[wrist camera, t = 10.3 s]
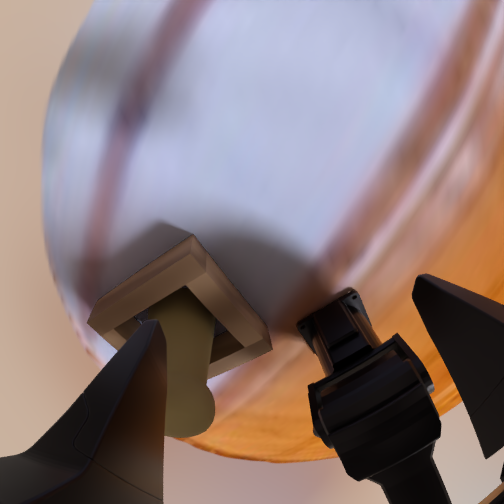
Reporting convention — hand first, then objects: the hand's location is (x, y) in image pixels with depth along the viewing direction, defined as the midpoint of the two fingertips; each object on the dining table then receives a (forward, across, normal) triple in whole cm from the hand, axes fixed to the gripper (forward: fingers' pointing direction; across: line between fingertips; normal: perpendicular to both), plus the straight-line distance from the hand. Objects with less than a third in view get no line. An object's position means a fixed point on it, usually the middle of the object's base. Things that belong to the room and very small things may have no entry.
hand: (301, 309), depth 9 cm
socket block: (+12, +7, +10) cm, 17 cm away
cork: (+12, +7, +10) cm, 17 cm away
